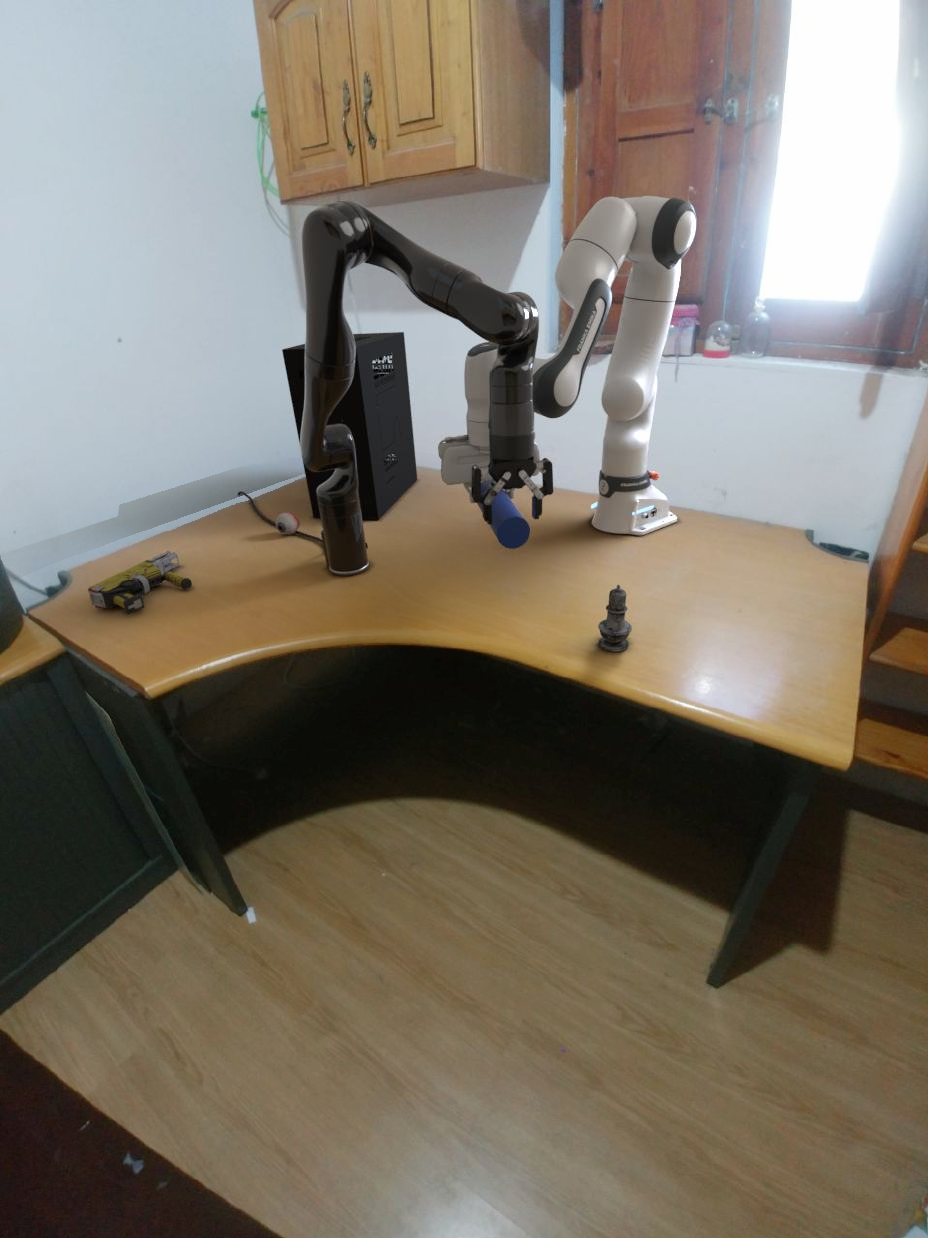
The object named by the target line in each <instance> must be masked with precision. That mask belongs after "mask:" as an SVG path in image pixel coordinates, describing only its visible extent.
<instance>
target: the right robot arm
mask: <svg viewBox="0 0 928 1238" xmlns="http://www.w3.org/2000/svg"><path fill="white" fill-rule="evenodd" d="M697 225H698V219H697V214H696V211H695V209H694V206H693V204H692V203H690V202H689V201H686V200H684V199H681V198H678V197H672V198H667V197H663V196H655V195H643V196H633V197H632V196H631V197H624V198H623V197H620V196H619V197H618V196H605V197H603V198H600V199H599V200H598V201H596V202H595V204H593V206H592V207H591V208H590V209H589V211H588V212H587V214H585V216H584V217H583V219H582V220H581V222H580V223H579V225H578V226H577V228H576V229H575V231H574V232H573V233H572V236H571V238H570V239H569V241H568V243H567V245H566V247H565V248H564V250H563V252H562V254H561V256H560V258H559V260H558V262H557V266H556V269H555V272H554V281H555V282H554V283H555V286H556V289H557V290H556V291H557V292H558V294H559V296H560V297H561V299H563V301H564V302H565V303H566V304H567V305H568V306H569V307H570V308H571V309H572V310H573V312H572V317H571V320H570V322H569V324H568V326H567V329H566V331H565V334H564V337H563V339H562V340H561V344H560V346H559V348H558V350H557V352H556V353H555V354H554V355H552V356H551V357H548V358H540V357H539V358H538V357H535V359H534V364H533V408H534V414H537V415H540V416H543V417H545V418H548V419H559V418H561V417H563V416H564V415H566V414H568V413H569V412H570V410H571V409H572V408H573V407H574V406H575V404H576V402H577V400H578V399H579V396H580V392H581V389H582V384H583V379H584V376H585V372H586V371H587V370H586V369H587V367H588V364H589V362H590V361H591V357H592V355H593V353H594V350H595V348H596V345H597V343H598V341H599V338H600V335H601V333H602V331H603V328H604V326H605V324H606V321H607V319H608V315H609V313H610V311H611V310H610V309H611V306H612V301H613V294H612V293H613V292H612V290H611V289H612V285H613V283H614V281H615V279H616V277H617V275H618V273H619V271H620V269H621V268H622V265H623V264H624V262H630V263H631V268H630V271H629V275H628V279H627V282H626V287H625V291H624V297H623V301H622V305H621V311H620V317H619V321H618V327H617V332H616V337H615V339H614V340H615V341H614V343H613V347H612V351H611V354H610V358H609V362H608V366H607V370H606V374H605V378H604V383H603V387H602V391H601V398H600V400H601V406H602V409H603V412H604V413H605V414H606V415H607V418H606V419H607V420H606V424H605V429H604V435H603V440H602V453H601V468H600V470H599V474H598V492H599V493H598V498H597V501H596V502H594V503H592V504H591V505H590V509H594V508H595V511H594V514H593V517H592V520H591V525H592V526H593V527H594V528H595V529H597V530H599V531H601V532H605V533H611V534H623V535H625V534H626V535H632V536H633V535H634V536H645V535H646V534H650V533H652V532H654V531H657V530H660V529H662V528H665V527H668V526H670V525H672V524H675V523H677V522H678V516H677V515H676V514H675V513H674V512H672V511H670V503H669V502H670V501H669V498H668V497H667V496H666V495H665V494H664V492H661V491H660V490H659V489H658V488H656V487H655V486H654V485H652V483H651V480H653V481H658V479H659V478H660V473H659V472H657V471H654V470H651V471H649V470H648V469H647V466H648V458H649V457H648V456H649V447H650V440H651V433H652V427H653V421H654V414H655V408H656V400H657V393H658V377H657V374H658V372H659V371H658V370H659V367H660V363H661V360H662V356H663V352H664V349H665V346H666V342H667V338H668V334H669V331H670V326H671V322H672V317H673V314H674V308H675V304H676V301H677V296H678V290H679V285H680V277H681V265H682V259H683V258H684V256H685V255H686V254H687V253H688V251H689V250H690V248H691V246H692V244H693V242H694V240H695V236H696V233H697ZM496 357H497V345H496V344H493V343H491V342H489V341H486V342H481V343H478V344H476V345H474V346H472V347H471V348H470V349H469V350H468V351H467V353H466V356H465V361H464V373H463V375H464V377H463V379H464V381H463V382H464V397H465V400H466V403H467V404H466V405H467V411H466V415H465V417H466V419H465V420H466V434H463V435H456V436H446V437H444V439H442V440H441V441H440V442H439V443H438V444H437V445H438V446H437V454H438V457H439V459H440V461H441V463H440V475H441V480H442V482H443V483H444V484H445V485H447V486H453V485H462V484H463V487H464V490H466V492H467V494H468V495H469V503H470V504H477V503H476V502H475V501H474V500H473V498H472V496H471V482H472V466H473V465H477V466H478V467H485V466H488V465H489V462H490V444H489V428H488V423H489V408H490V392H489V373H490V368H491V366H492V365H493V363H494V362H495V360H496ZM535 439H536V431H535V430H534V460H535V461H541V455H540V454H541V453H540V448H539V446H538V444H537V443H536V442H535ZM540 473H541V472H540V471H539V469H538V468H536V470H535V472H534V473H533V475H532V476H531V477H535V476H538V475H539V474H540ZM492 479H493V478H492V477H491V476H490V474H489V473H487V474H486V475H485V478H484V479H483V480H481V482H483V481H491V480H492ZM504 491H505V492H506V494H507V495H508V496H509V498H510V499H511V500H513V499H514V497H515V496H514V491H516V488H512V489H510V490H504Z"/></svg>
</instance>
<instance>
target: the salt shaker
mask: <svg viewBox="0 0 928 1238" xmlns="http://www.w3.org/2000/svg"><path fill="white" fill-rule="evenodd" d="M626 602H627V592H626V590H625V589H623V588H622V587H621V585H620V584H617V585H616V587H615V588H613V589H611V590H610V591H609V594H608V604H607V605H606V606H605V610H606V611H607V613H606V619H603V620H601V621H600V622H599V623H598V625H597V627H598V630H599V633H600V636H601V638H599V640H598V645H599V647H600V648H602V649H603V650H605V651H608V652H613V653H614V652H616V653H617V652H622V651H625V650H627V649H628V648H629V645H630V644H629V641H628V640H627V639H628V638H629V635H630V633H631V632H632V630H633V626H632V625H631V624H630V622H628V621H626V612H627V611H628V607H627V605H626Z"/></svg>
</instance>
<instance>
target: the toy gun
mask: <svg viewBox="0 0 928 1238" xmlns="http://www.w3.org/2000/svg"><path fill="white" fill-rule="evenodd" d="M175 559H176V561H177V563H176V562H173V560H175ZM178 567H180V561H179V554H177V553H176V552H174V551H173V552H171V550H170V551H169V550H167V551H165V552H164V553H161V554H159V555H157V556H155V557H152V558H151V559H146V560H145V561H142V562H139V563H138V564H136V565H133V566H132V567H130V568H127V569H125V570H123V571H120V572H118V573H116V574H115V575H113V576H111V577H108V578H107V579H104V580H102V581H100V582H97V583H96V584H93V585H91V586H89V587H88V588H87V591H88V594H89V599H90V602H91V605H93V606H94V607H95V609H99V610H102V609H104V608H105V609H112V608H116V607H121V608H123V609H124V610H125V614H126V615H131V614H134V613H136V612H138V611H140V610H143V609H145V608H146V607H145V602H144V598H143V596H144V595H146V594H148V593H150V590H151V588H153V587H156V586H158V585H160V584H163V583H164V581H166V582H168V583H170V584H173V585H176V586H178V587H181V588H182V589H184V590H188V589H190V588H191V587H193V583H192V582H193V581H192V579H190V578H189V577H184V576H182V575H180V574H178V573H174V572H173V571H172V570H173V569H176V568H178Z"/></svg>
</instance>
